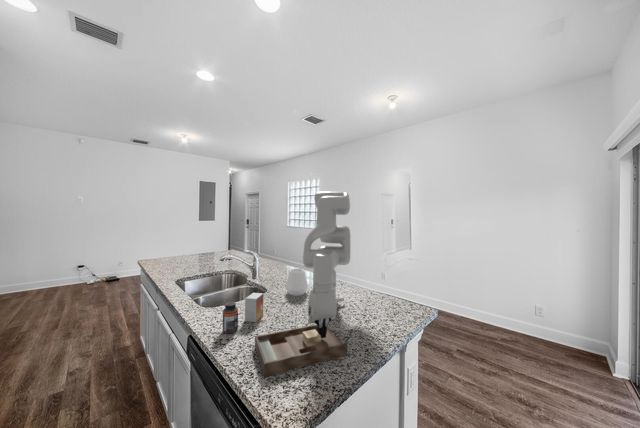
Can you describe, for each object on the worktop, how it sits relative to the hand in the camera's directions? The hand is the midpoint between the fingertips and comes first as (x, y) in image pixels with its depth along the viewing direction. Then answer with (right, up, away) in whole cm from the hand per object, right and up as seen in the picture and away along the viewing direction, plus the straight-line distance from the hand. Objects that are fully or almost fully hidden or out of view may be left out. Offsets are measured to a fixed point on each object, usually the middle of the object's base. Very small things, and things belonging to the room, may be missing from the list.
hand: (322, 336), depth 91 cm
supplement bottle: (-38, -3, +11) cm, 40 cm away
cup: (-15, -3, +57) cm, 59 cm away
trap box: (-8, -4, -3) cm, 9 cm away
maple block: (-4, -1, -2) cm, 4 cm away
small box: (-31, -3, +23) cm, 39 cm away
